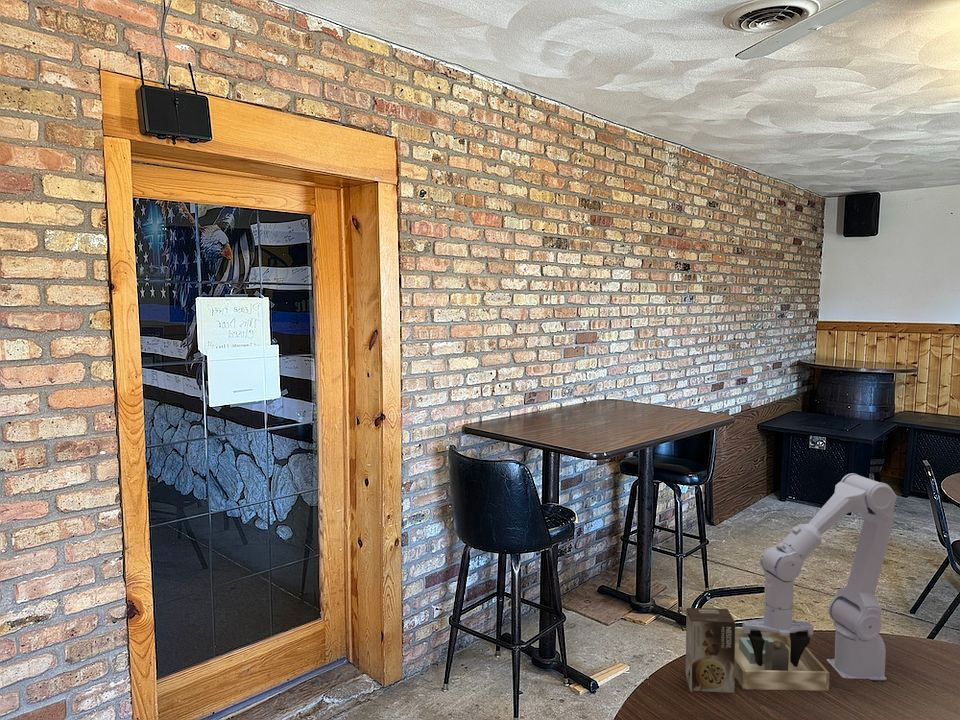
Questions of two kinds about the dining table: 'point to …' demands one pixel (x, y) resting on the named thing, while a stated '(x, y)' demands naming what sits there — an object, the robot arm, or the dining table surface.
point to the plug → (776, 656)
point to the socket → (751, 649)
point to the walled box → (796, 678)
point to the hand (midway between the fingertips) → (776, 664)
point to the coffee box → (710, 650)
